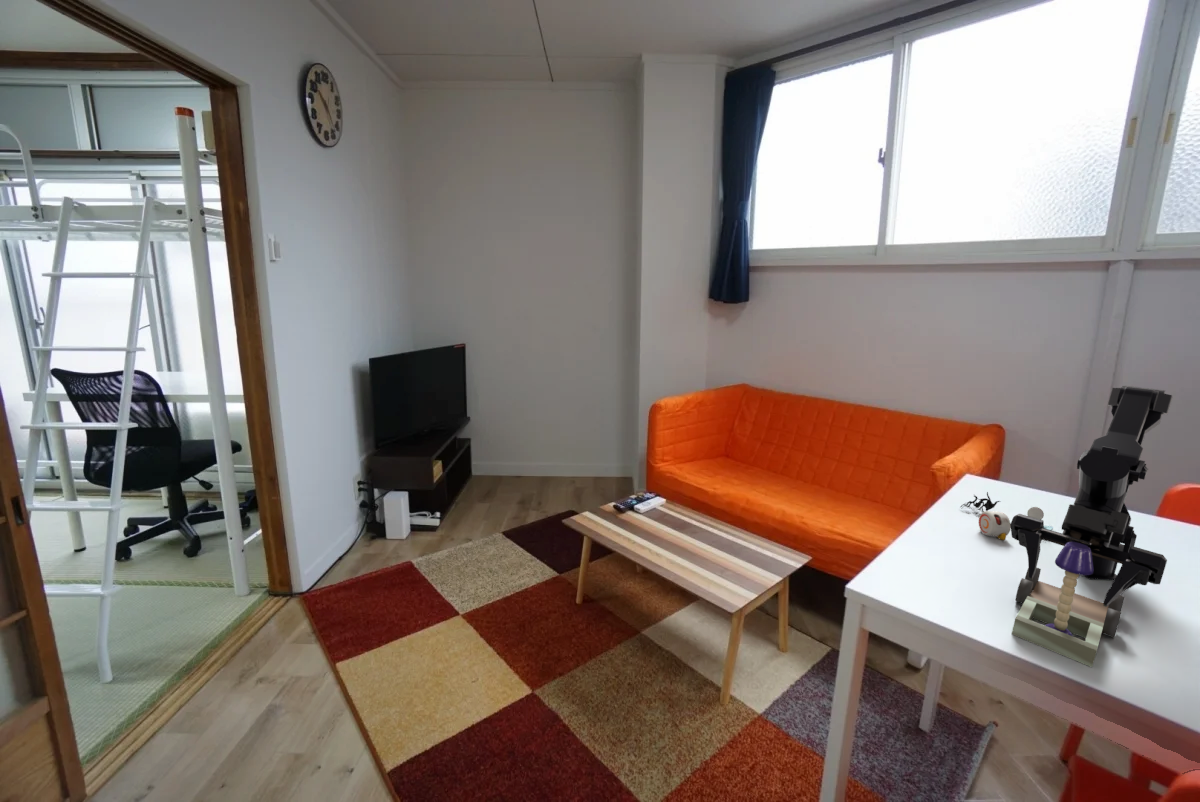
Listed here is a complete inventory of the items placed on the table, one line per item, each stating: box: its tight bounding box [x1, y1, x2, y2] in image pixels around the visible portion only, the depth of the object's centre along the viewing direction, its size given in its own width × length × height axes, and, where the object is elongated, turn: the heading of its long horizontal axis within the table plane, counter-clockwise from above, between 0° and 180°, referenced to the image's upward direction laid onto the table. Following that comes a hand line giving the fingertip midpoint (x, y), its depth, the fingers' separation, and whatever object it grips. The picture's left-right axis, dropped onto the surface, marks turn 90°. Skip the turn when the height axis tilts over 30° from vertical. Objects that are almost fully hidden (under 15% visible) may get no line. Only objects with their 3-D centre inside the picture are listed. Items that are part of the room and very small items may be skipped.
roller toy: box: [978, 510, 1011, 541], centre depth 121 cm, size 4×6×6 cm
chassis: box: [1011, 567, 1125, 668], centre depth 90 cm, size 22×13×4 cm, turn 132°
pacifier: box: [1026, 506, 1054, 531], centre depth 123 cm, size 7×6×6 cm
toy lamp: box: [1044, 542, 1094, 637], centre depth 85 cm, size 5×5×17 cm
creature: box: [960, 491, 1002, 513], centre depth 134 cm, size 8×5×8 cm
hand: (1066, 591), depth 83 cm, fingers open, 9 cm apart
